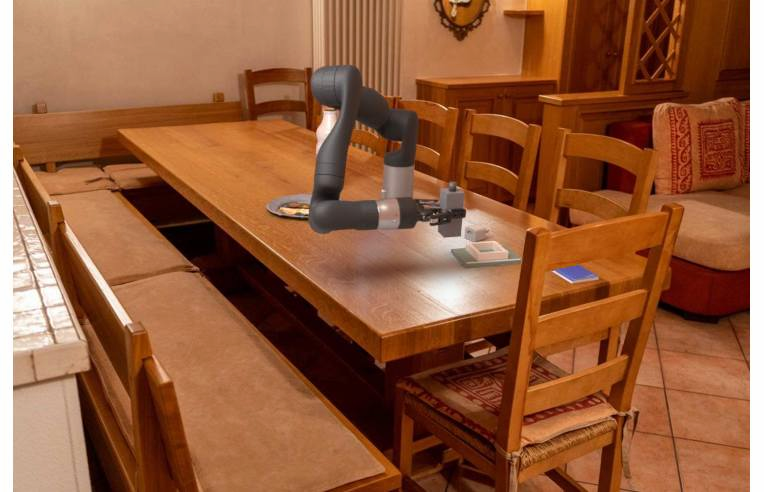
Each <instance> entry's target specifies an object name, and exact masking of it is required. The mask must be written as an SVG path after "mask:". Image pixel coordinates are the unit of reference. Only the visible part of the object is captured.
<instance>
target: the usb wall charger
mask: <svg viewBox="0 0 764 492" xmlns="http://www.w3.org/2000/svg"><path fill="white" fill-rule="evenodd" d="M488 233H490V229H488V230H487V228H486V226H484V225H481V224H478V223H475V224H471V225H467V226H465V227H464V237H463V238H464V240H465V239H466V240H465V241H467V240H469V241H468V242H470V241H471V242H482V241H484V240H486V234H488ZM471 242H470V243H471Z"/></svg>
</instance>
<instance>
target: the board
mask: <svg viewBox="0 0 764 492" xmlns="http://www.w3.org/2000/svg"><path fill="white" fill-rule="evenodd" d="M449 252H451V253H452V254H453V255H454V256H455V257H456V258H457V259H458V260H459V261H460V262H461V263H460V262H459V261H458V260H457V259H456V260H457V261H458V262H459V263H460V264H461V265H462V266H463V267H464V268H465V269H467V268H468V269H469V268H478V267H479V268H480V267H481V268H482V266H483V267H493V265H496V266H503V265H502V264H510V265H516V264H515V263H518V264H517V265H520V264H521V259H523V258H521V257H520V256H519V255H518V254H517V253H515V252H514V251H513V250H512V249H510V248H509V246H507V245H505V244H504V245H501V244H499V243H498V242H497V241H495V240H492V241H491V240H490V241H489V240H488V241H478V242H466V243H465V247H460V248H450V251H449ZM451 253H450V254H451ZM452 254H451V255H452ZM453 255H452V256H453ZM454 256H453V257H454ZM455 257H454V258H455ZM519 263H520V264H519ZM521 265H522V264H521Z"/></svg>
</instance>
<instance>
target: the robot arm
mask: <svg viewBox="0 0 764 492" xmlns="http://www.w3.org/2000/svg"><path fill="white" fill-rule="evenodd" d="M309 83H310V84H309V85H310V90H311V93H312V96H313V97H314V99H315V100H316V101H317V103H319V104H320V105H322V106H323V107H324V106H327V107H330V108H334V109H337V111H339V114H338V117H337V121H336V123H335V125H334V127H333V128H332V130H331V131H330V133H329V134H328V136H327V137H326V139H325V140H324V142H323V143H322V145H321V147H320V149H319V151H318V154H317V158H316V157H315V166H314V173H313V174H314V175H313V188H312V192H311V194H312V197H311V202H310V207H309V213H308V217H307V221H308V222H307V223H308V225H309V227H310V229H312V231H314V233H317V234H320V235H327V234H329V233H332V232H334V231H335V232H336V231H345V230H355V231H373V230H375V231H378V230H380V231H391V230H392V231H395V230H408V229H410V230H411V229H414V228H415V227H416V224H417V223H418V222H422V223H429V226H431V227H436V226H438V225H442V224H447V223H451V219H456V218H462V219H465V218H466V217H467V209H466V208H464V207H463V209H442V208H441V207H439V205H440V201H439V199H435V198H434V199H430V198H414V184H415V183H414V182H415V179H414V177H415V161H416V160H415V159H416V154H417V145H418V143H417V142H418V134H419V124H420V123H419V122H420V121H419V115H418V113H417V112H416V110H415V111H414V110H410V109H401V108H392V107H390V104H389V102H388V99H386V97H385V96H384V95H383V94H382V93H380V92H379V91H377V90H375V89H374V88H371V87H369V86H366V85H363V77H362V73H361V71H360V69H359V68H358V66H356V65H354V64H341V65H340V64H337V65H336V64H335V65H324V66H321V67H319V68H317V69H316V70H314V72H313V73H312V75H311V77H310V82H309ZM356 121H357V122H358V123H360V124H362V125H364V126H365V127H368V128H370V129H372V130H374V131H375V132H376V133H377V134H378V135H379V136H381V137H382V138H383V139H385V140H388V141H393V142H394V141H395V142H400V143H401V146H400V148H398V149H394V150H391V151H388V152H385V153H384V154H383V155H384V156H383V166H382V167H383V169H382V170H383V171H382V188H381V190H380V191H381V193H380V195H381V196H380V198H378V199H366V200H364V199H363V200H362V199H361V200H354V201H353V200H352V201H351V200H345V201H342V200H339V198H340V199H341V197H340V196H341V193H342V191H343V188H344V186H345V178H346V171H347V169H346V167H347V159H348V153H349V147H350V145H351V144H350V143H351V138H352V134H353V131H354V127H355V125H356ZM442 212H443V213H442ZM445 216H446V217H445Z"/></svg>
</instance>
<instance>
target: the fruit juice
mask: <svg viewBox="0 0 764 492" xmlns="http://www.w3.org/2000/svg"><path fill="white" fill-rule="evenodd" d="M322 113H323V116H322V121H321V123H320V124H319V126H318V127H317V129H316V135H315V136H316V140H317V143H316V146H315V159H316V158H317V154H318V151H319V149H320V147H321V145H322V143H323V142H324V140H325V139H326V137H327V136H328V134H329V133H330V131H331V130H332V128H333V127H334V125H335V123H336V121H337V119H338V117H337V113H338V110H337V109H334V108H330V107H327V106H324V105H323V106H322Z"/></svg>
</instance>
